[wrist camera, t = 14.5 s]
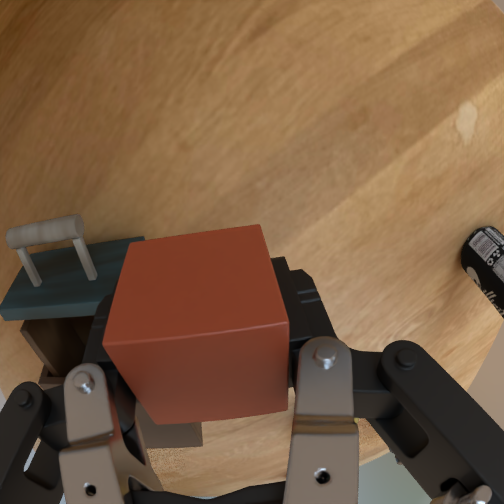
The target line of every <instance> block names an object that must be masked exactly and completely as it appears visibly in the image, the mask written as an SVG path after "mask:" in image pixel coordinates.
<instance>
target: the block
mask: <svg viewBox="0 0 504 504" xmlns="http://www.w3.org/2000/svg"><path fill="white" fill-rule="evenodd" d="M102 345H103V347H104V349H105V350H106V352H107V354H108V355H109V357H110V358H111V360H112V362H113V363H114V365H115V366H116V368H117V370H118V371H119V373H120V374H121V376H122V377H123V379H124V380H125V382H126V383H127V385H128V386H129V388H130V389H131V391H132V392H133V394H134V395H135V396H136V398H137V399H138V401H139V402H140V403H141V405H142V406H143V408H144V409H145V410H146V412H147V413H148V415H149V416H150V417H151V419H152V420H153V421H154V423H155V424H157V425H160V424H180V423H194V422H206V421H217V420H226V419H235V418H242V417H250V416H257V415H263V414H270V413H276V412H282V411H286V410H288V385H289V319H288V316H287V312H286V309H285V306H284V302H283V299H282V295H281V292H280V289H279V285H278V282H277V279H276V275H275V272H274V269H273V265H272V262H271V259H270V255H269V252H268V249H267V245H266V242H265V239H264V236H263V232H262V229H261V226H260V225H258V224H257V225H250V226H242V227H235V228H227V229H220V230H213V231H206V232H199V233H192V234H185V235H178V236H171V237H164V238H158V239H151V240H144V241H138V242H132V243H130V244H129V247H128V251H127V254H126V257H125V260H124V263H123V267H122V270H121V273H120V277H119V280H118V284H117V287H116V291H115V294H114V298H113V302H112V305H111V309H110V313H109V317H108V321H107V325H106V329H105V333H104V337H103V342H102Z"/></svg>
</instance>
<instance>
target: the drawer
mask: <svg viewBox="0 0 504 504" xmlns="http://www.w3.org/2000/svg"><path fill="white" fill-rule="evenodd" d="M83 234H84V222H83V219H82V217H81V215H79V214H74V215H69V216H64V217H59V218H54V219H49V220H45V221H40V222H35V223H31V224H26V225H22V226H17V227H13V228H9V229H8V230H7V233H6V242H7V245H8V247H9V248H10V249H16V251H17V253H18V255H19V257H20V259H21V262H22V264H23V266H22V268H21V270H20V271H19V273H18V275H17V276H16V278H15V280H14V282H13V283H12V285H11V287H10V289H9V290H8V292H7V294H6V296H5V298H4V299H3V301H2V303H1V305H0V314H1V316H2V317H3V319H4V320H5V321H13V320H25V321H24V323H23V325H22V327H21V330H20V332H21V333H22V335H23V336H24V337H25V339H26V340H27V342H28V343H29V345H30V346H31V347H32V349H33V350H34V351H35V353H36V354H37V355H38V357H39V358H40V359H41V361H42V362H43V363H44V365H45V366H46V367H47V368H48V370H49V371H50V372H51V373H52V375H53V376H54V377H66V376H67V375H68V373H69V372H70V371H71V370H72V369H73V368H75V367H76V366H78V365H81V364H82V360H83V356H84V352H85V348H86V344H87V341H88V337H89V333H90V330H91V329H92V328H91V326H92V323H93V320H94V316H95V312H96V309H97V306H98V305H99V303H100V302H101V301H102V299H103V298H104V297H105V295H110V294H113V290H114V287H115V284H116V281H117V279H119V277H120V273H121V270H122V267H123V263H124V260H125V257H126V254H127V251H128V247H129V244H130V243H132V242H138V241H144V240H145V238H144V236H142V237H135V238H128V239H121V240H115V241H108V242H101V243H95V244H88V245H86V244H85V241H84V238H83ZM68 239H72V240H73V243H74V246H75V247H69V248H63V249H57V250H51V251H45V252H39V253H33V254H30V255H29V253H28V251H27V249H26V247H28V246H34V245H39V244H45V243H51V242H56V241H62V240H68Z"/></svg>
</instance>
